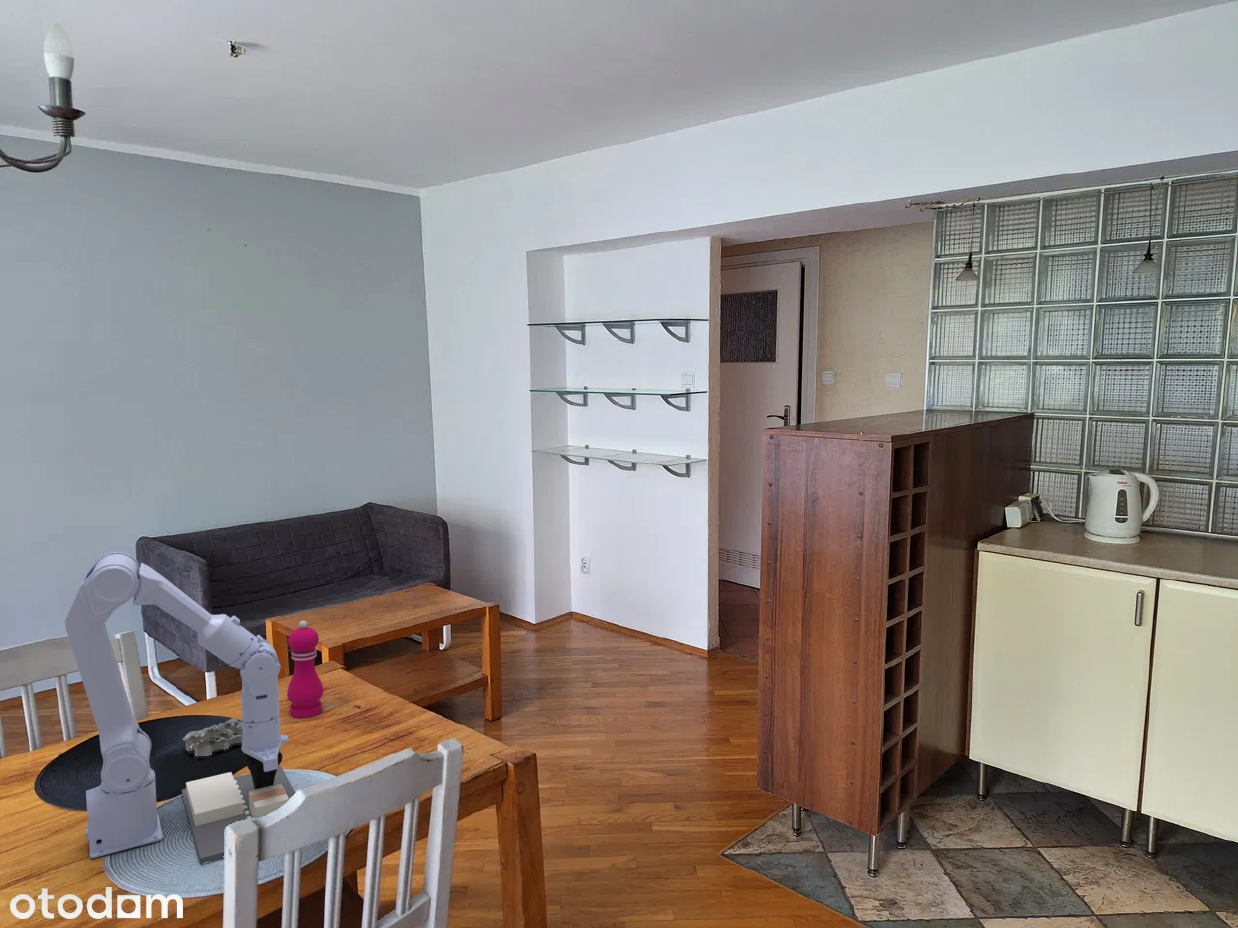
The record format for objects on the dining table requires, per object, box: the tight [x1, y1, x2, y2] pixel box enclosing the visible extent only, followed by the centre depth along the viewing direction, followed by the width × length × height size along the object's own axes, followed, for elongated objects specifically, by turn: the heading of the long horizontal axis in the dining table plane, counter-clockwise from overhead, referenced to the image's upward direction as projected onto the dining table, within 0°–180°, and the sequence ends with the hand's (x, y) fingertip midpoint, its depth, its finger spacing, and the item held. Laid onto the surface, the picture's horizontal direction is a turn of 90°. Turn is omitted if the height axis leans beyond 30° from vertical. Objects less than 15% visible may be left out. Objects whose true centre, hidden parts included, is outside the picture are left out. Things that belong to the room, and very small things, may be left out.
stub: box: [249, 784, 289, 818], centre depth 134 cm, size 5×6×3 cm
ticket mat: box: [181, 765, 296, 865], centre depth 136 cm, size 16×24×3 cm, turn 33°
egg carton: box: [182, 717, 243, 757], centre depth 160 cm, size 11×8×4 cm
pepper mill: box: [286, 620, 324, 719], centre depth 175 cm, size 7×7×20 cm
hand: (264, 794), depth 137 cm, fingers closed
